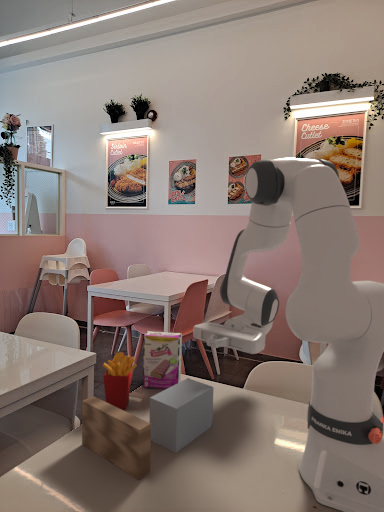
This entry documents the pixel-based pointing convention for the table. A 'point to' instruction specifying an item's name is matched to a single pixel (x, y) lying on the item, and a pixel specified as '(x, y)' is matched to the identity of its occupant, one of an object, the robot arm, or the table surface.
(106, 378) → the french fries
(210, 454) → the table surface
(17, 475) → the table surface
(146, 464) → the walnut board
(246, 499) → the table surface
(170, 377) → the candy bar box
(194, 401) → the slate block
